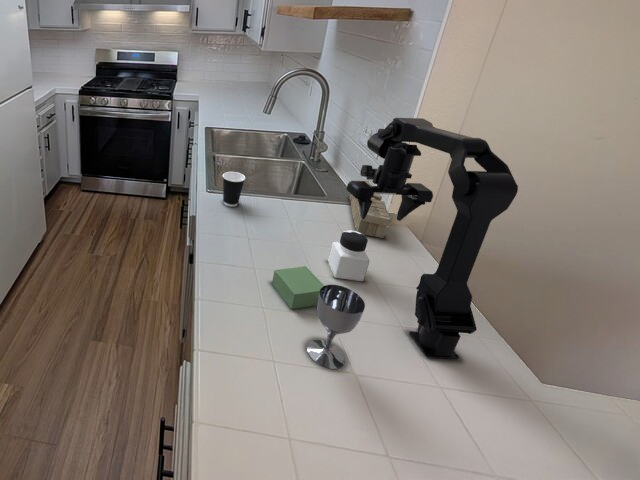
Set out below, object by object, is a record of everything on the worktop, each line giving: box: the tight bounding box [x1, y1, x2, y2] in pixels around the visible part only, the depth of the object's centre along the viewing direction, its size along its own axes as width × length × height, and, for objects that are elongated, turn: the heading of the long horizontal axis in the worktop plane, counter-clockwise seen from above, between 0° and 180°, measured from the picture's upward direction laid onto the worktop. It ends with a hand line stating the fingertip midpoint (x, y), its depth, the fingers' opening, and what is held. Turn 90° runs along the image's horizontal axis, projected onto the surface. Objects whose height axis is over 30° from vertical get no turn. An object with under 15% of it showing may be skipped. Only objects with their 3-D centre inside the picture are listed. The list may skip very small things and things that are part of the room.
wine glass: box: [306, 284, 366, 370], centre depth 78 cm, size 8×8×15 cm
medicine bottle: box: [327, 229, 371, 282], centre depth 103 cm, size 7×7×12 cm
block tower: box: [349, 179, 392, 239], centre depth 131 cm, size 8×8×29 cm
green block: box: [271, 265, 325, 310], centre depth 96 cm, size 9×9×4 cm
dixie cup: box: [222, 171, 246, 208], centre depth 138 cm, size 8×8×11 cm
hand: (380, 219), depth 103 cm, fingers open, 9 cm apart
